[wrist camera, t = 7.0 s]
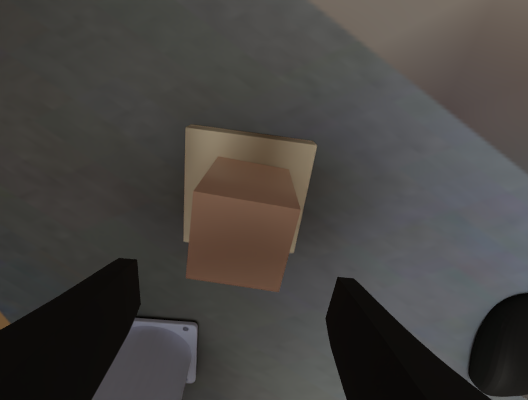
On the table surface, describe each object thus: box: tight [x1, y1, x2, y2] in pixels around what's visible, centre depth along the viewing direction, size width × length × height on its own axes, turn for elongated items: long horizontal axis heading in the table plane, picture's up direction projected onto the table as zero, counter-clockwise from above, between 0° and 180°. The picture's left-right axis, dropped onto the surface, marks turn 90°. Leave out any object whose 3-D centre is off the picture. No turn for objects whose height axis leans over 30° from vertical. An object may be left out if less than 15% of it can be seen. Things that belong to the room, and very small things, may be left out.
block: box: [186, 156, 301, 292], centre depth 14 cm, size 4×4×6 cm
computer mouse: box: [469, 294, 528, 400], centre depth 24 cm, size 8×12×4 cm, turn 10°
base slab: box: [184, 124, 317, 253], centre depth 18 cm, size 8×8×2 cm
